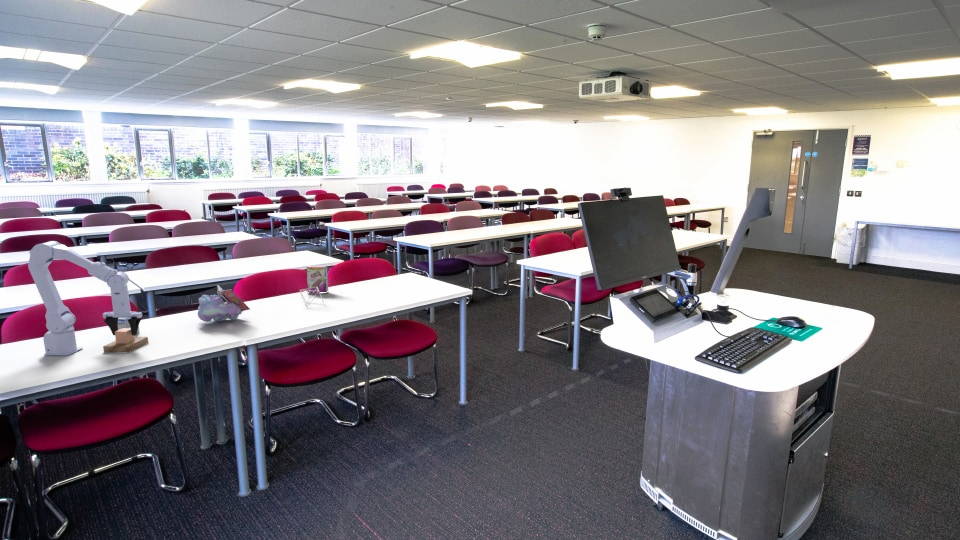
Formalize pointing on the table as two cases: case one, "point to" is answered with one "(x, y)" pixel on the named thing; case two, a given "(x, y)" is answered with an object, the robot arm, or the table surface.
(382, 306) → the table surface
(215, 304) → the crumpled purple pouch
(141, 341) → the walnut block
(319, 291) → the geometric polyhedron
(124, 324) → the medicine box
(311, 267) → the candy bar box
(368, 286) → the table surface
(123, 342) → the terracotta block
